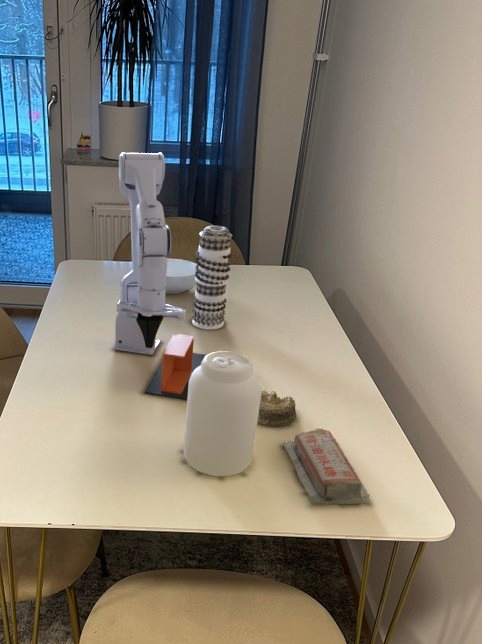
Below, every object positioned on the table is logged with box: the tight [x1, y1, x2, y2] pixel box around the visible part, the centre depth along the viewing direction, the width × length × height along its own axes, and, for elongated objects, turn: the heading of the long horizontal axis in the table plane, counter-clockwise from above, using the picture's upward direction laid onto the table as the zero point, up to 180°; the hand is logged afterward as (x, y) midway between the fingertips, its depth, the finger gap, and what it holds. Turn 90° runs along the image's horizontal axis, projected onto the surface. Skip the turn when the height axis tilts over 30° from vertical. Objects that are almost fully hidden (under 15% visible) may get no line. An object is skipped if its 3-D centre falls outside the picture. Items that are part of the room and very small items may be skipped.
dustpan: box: [161, 333, 195, 394], centre depth 142 cm, size 4×17×9 cm, turn 165°
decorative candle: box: [191, 225, 233, 330], centre depth 165 cm, size 9×9×25 cm
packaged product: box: [283, 428, 370, 506], centre depth 114 cm, size 18×5×10 cm
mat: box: [144, 352, 207, 401], centre depth 145 cm, size 18×22×1 cm
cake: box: [257, 390, 298, 427], centre depth 131 cm, size 10×10×5 cm
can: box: [183, 350, 263, 477], centre depth 113 cm, size 12×12×20 cm
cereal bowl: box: [165, 257, 197, 295], centre depth 190 cm, size 17×17×7 cm
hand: (149, 346), depth 141 cm, fingers closed
